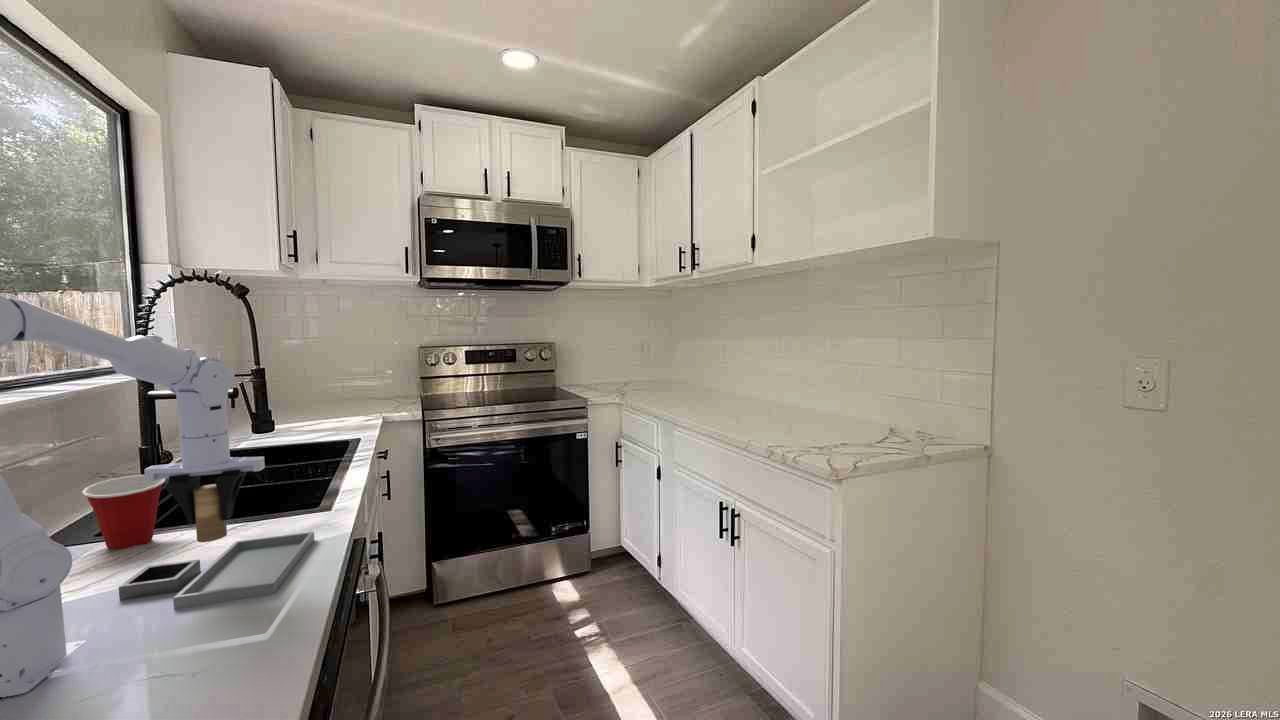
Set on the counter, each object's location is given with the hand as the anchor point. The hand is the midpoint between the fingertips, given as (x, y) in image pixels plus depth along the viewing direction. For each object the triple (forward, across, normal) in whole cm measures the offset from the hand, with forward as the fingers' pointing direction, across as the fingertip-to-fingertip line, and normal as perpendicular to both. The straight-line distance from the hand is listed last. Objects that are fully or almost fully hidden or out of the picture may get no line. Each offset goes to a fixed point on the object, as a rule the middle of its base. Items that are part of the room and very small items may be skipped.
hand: (211, 520), depth 79 cm
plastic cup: (+10, +21, -22) cm, 32 cm away
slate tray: (+10, -5, -1) cm, 11 cm away
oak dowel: (+3, 0, 0) cm, 3 cm away
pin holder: (+10, +7, 0) cm, 12 cm away
